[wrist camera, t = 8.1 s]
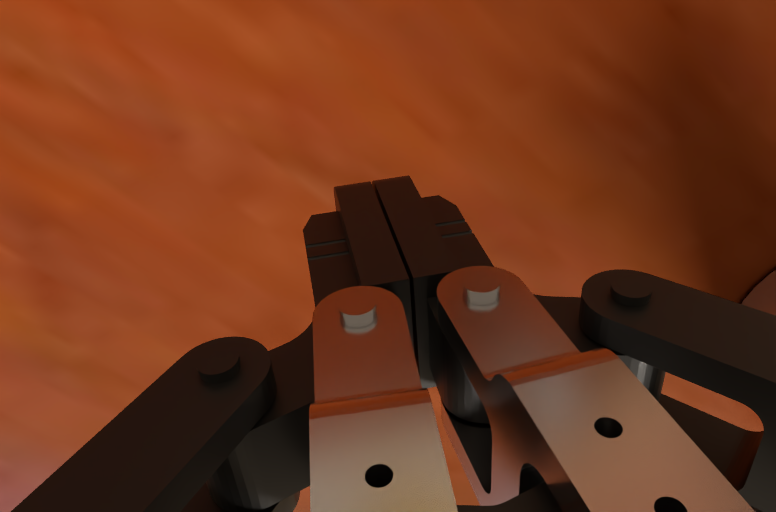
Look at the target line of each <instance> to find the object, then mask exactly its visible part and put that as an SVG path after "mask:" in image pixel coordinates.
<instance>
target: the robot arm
mask: <svg viewBox="0 0 776 512" xmlns="http://www.w3.org/2000/svg"><path fill="white" fill-rule="evenodd" d="M334 196H335V204H336V212H329V213H323V214H316V215H311V217H310V219H309V221H308V222H307V224H306V226H305V227H304V229H303V233H304V239H305V245H306V252H307V258H308V264H309V270H310V276H311V283H312V289H313V295H314V301H315V310H314V312H313V321H312V323H311V324H310V325H309V327H308V328H307V329H306V330H305V331H304V332H303V333H302V334H301V335H299V336H298V337H297V338H295V339H293V340H292V341H290V342H288V343H286V344H284V345H282V346H279V347H277V348H275V349H272V350H270V351H267V349H266V348H265V347H264V346H263V345H262V344H260V343H259V342H257V341H255V340H253V339H249V338H245V337H224V338H219V339H215V340H211V341H208V342H205V343H203V344H201V345H199V346H197V347H195V348H193V349H192V350H190V351H189V352H187V353H186V354H185V355H184V356H182V357H181V358H180V359H179V360H178V361H177V362H176V363H175V364H173V365H172V366H171V367H170V368H169V369H168V370H167V371H166V372H165V373H164V374H162V375H161V376H160V377H159V378H158V379H157V380H156V381H155V382H154V383H152V384H151V385H150V386H149V387H148V388H147V389H146V390H145V391H144V392H143V393H141V394H140V395H139V396H138V397H137V398H136V399H135V400H134V401H133V402H132V403H130V404H129V405H128V406H127V407H126V408H125V409H124V410H123V411H122V412H120V413H119V414H118V415H117V416H116V417H115V418H114V419H113V420H112V421H111V422H109V423H108V424H107V425H106V426H105V427H104V428H103V429H102V430H101V431H99V432H98V433H97V434H96V435H95V436H94V437H93V438H92V439H91V440H90V441H88V442H87V443H86V444H85V445H84V446H83V447H82V448H81V449H80V450H78V451H77V452H76V453H75V454H74V455H73V456H72V457H71V458H70V459H69V460H67V461H66V462H65V463H64V464H63V465H62V466H61V467H60V468H59V469H57V470H56V471H55V472H54V473H53V474H52V475H51V476H50V477H49V478H48V479H46V480H45V481H44V482H43V483H42V484H41V485H40V486H39V487H38V488H36V489H35V490H34V491H33V492H32V493H31V494H30V495H29V496H28V497H27V498H25V499H24V500H23V501H22V502H21V503H20V504H19V505H18V506H17V507H15V508H14V509H13V510H12V511H11V512H293V510H294V509H295V507H296V505H297V502H298V500H299V495H300V490H302V489H304V488H306V487H308V486H310V504H311V512H776V270H775V271H773V272H772V273H771V274H769V275H768V276H767V277H766V278H765V279H764V280H762V281H761V282H760V283H759V284H758V285H757V286H756V287H755V288H754V289H753V290H752V291H751V292H750V293H749V295H748V296H747V297H746V298H745V299H744V300H743V302H742V304H739V303H736V302H733V301H730V300H727V299H724V298H720V297H717V296H714V295H711V294H708V293H705V292H702V291H699V290H696V289H693V288H690V287H687V286H684V285H681V284H678V283H675V282H672V281H668V280H665V279H662V278H659V277H656V276H653V275H650V274H647V273H643V272H639V271H633V270H609V271H604V272H601V273H598V274H595V275H593V276H592V277H590V278H589V279H588V280H587V281H586V282H585V283H584V285H583V287H582V294H581V298H580V297H551V296H540V295H534V294H532V292H531V291H530V290H529V289H528V287H527V286H526V285H525V284H524V283H523V281H522V280H521V279H520V278H519V277H517V276H516V275H514V274H513V273H511V272H509V271H506V270H504V269H500V268H496V267H494V266H493V264H492V263H491V261H490V259H489V258H488V256H487V255H486V253H485V251H484V250H483V248H482V247H481V245H480V243H479V242H478V240H477V238H476V237H475V235H474V234H473V233H472V230H471V229H470V227H469V226H468V224H467V222H465V219H464V218H463V216H462V214H461V213H460V211H459V209H458V208H457V206H456V205H454V204H453V203H451V202H449V201H447V200H446V199H444V198H442V197H441V196H439V195H437V196H431V197H424V198H421V197H420V195H419V193H418V191H417V189H416V187H415V185H414V183H413V182H412V180H411V178H410V176H402V177H396V178H389V179H382V180H376V181H373V182H372V184H371V182H363V183H357V184H350V185H343V186H337V187H334ZM665 372H668V373H670V374H673V375H675V376H677V377H680V378H682V379H685V380H687V381H690V382H692V383H694V384H697V385H699V386H702V387H704V388H707V389H709V390H711V391H714V392H716V393H719V394H721V395H724V396H726V397H728V398H731V399H733V400H736V401H738V402H740V403H743V404H745V405H746V406H748V407H749V408H751V409H752V410H753V411H754V412H755V413H756V414H757V415H758V416H759V418H760V419H761V421H762V423H763V426H764V431H761V432H753V431H748V430H745V429H742V428H740V427H737V426H735V425H733V424H730V423H728V422H726V421H723V420H721V419H719V418H717V417H714V416H712V415H710V414H707V413H705V412H703V411H700V410H698V409H696V408H693V407H691V406H689V405H686V404H684V403H682V402H680V401H677V400H675V399H673V398H670V397H668V396H666V395H663V394H661V390H662V386H663V381H664V377H665ZM435 386H437V388H438V391H439V394H440V397H441V417H442V422H443V425H444V428H445V430H446V432H447V434H448V436H449V438H450V441H451V443H452V445H453V447H454V449H455V451H456V454H457V456H458V458H459V460H460V462H461V464H462V467H463V469H464V471H465V473H466V475H467V477H468V480H469V482H470V484H471V486H472V488H473V490H474V493H475V495H476V497H477V499H478V501H479V503H480V505H481V506H472V505H456V501H455V497H454V493H453V489H452V485H451V481H450V477H449V472H448V468H447V464H446V460H445V456H444V452H443V447H442V443H441V439H440V435H439V431H438V427H437V423H436V418H435V414H434V410H433V406H432V402H431V398H430V395H429V392H428V389H427V388H430V387H435Z"/></svg>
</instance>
